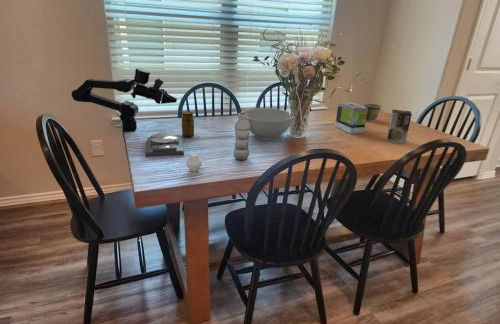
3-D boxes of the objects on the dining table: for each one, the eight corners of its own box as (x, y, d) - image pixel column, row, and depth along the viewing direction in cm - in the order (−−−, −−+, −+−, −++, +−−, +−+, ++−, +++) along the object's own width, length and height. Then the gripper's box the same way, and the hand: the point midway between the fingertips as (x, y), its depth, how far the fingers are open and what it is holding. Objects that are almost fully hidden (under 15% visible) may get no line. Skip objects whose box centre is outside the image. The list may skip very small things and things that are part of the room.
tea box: (364, 133, 184) (369, 107, 178) (349, 134, 180) (353, 108, 174) (348, 125, 196) (352, 101, 191) (334, 126, 193) (337, 102, 187)
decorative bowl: (233, 140, 163) (233, 116, 158) (251, 126, 186) (252, 105, 182) (284, 148, 155) (287, 124, 150) (297, 133, 178) (299, 111, 173)
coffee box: (404, 140, 174) (411, 111, 168) (405, 144, 168) (412, 113, 162) (386, 138, 177) (392, 109, 170) (386, 141, 171) (393, 111, 165)
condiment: (190, 132, 171) (190, 110, 167) (199, 137, 165) (198, 114, 161) (178, 135, 167) (177, 112, 162) (186, 139, 161) (185, 116, 156)
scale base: (146, 156, 138) (145, 149, 137) (147, 141, 156) (147, 134, 155) (184, 154, 142) (183, 147, 141) (181, 140, 160) (181, 133, 159)
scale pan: (149, 144, 143) (149, 141, 143) (150, 135, 155) (150, 132, 154) (179, 143, 146) (179, 140, 146) (178, 134, 158) (178, 131, 157)
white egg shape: (187, 167, 130) (186, 150, 128) (202, 167, 131) (202, 151, 128) (185, 173, 125) (184, 156, 122) (201, 173, 125) (201, 157, 122)
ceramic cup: (380, 123, 204) (383, 107, 200) (364, 122, 204) (367, 106, 200) (373, 117, 216) (376, 103, 212) (358, 117, 216) (361, 102, 212)
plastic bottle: (233, 155, 143) (234, 111, 136) (248, 156, 144) (250, 112, 136) (233, 161, 138) (234, 115, 130) (249, 161, 138) (251, 116, 130)
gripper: (147, 76, 153) (180, 86, 157) (151, 75, 171) (180, 84, 175) (142, 99, 156) (174, 108, 160) (146, 96, 173) (175, 104, 177)
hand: (176, 100), depth 168 cm, fingers open, 9 cm apart
